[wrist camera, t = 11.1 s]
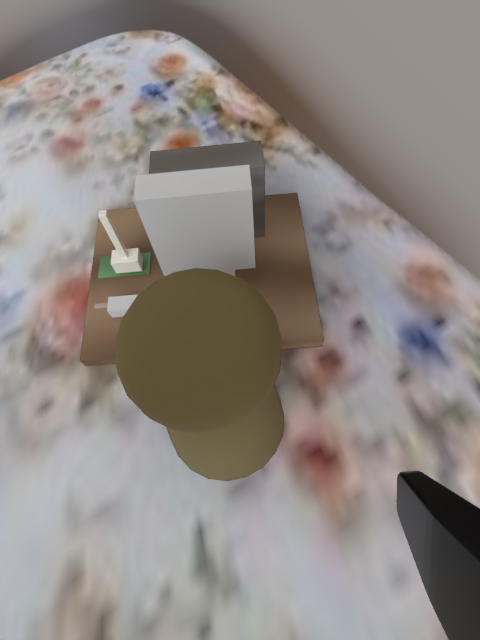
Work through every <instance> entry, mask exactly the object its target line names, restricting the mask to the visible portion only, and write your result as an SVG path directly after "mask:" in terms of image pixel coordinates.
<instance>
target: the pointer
mask: <svg viewBox="0 0 480 640" xmlns="http://www.w3.org/2000/svg"><path fill="white" fill-rule="evenodd" d="M98 217H99V219H100V221H101V223H102V224H103V226H104V228H105V230H106V232H107V234H108V236H109V237H110V239H111V241H112V243H113V245H114V247H115V249H116V250H112V255H111V265H112V267H113V269H114V270H115V272H116V273H127V272H138V271H142V267H143V257H142V255H141V252H140V250H139V248H131V249H126V247H125V245H124V243H123V241H122V239H121V237H120V235H119V233H118V231H117V229H116V228H115V226H114V224H113V222H112V220H111V218H110V216H109V214H108V212H107V210H99V214H98Z"/></svg>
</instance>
